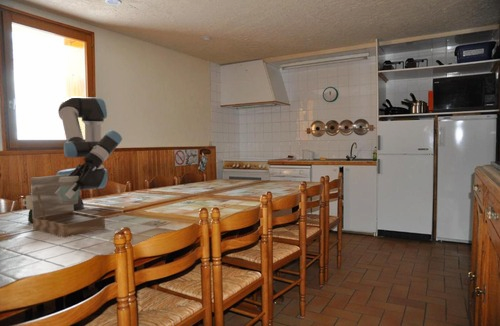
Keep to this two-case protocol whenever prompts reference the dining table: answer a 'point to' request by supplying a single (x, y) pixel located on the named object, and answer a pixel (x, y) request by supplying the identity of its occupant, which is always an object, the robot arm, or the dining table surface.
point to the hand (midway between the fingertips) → (62, 195)
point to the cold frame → (58, 210)
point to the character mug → (28, 206)
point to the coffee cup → (65, 186)
